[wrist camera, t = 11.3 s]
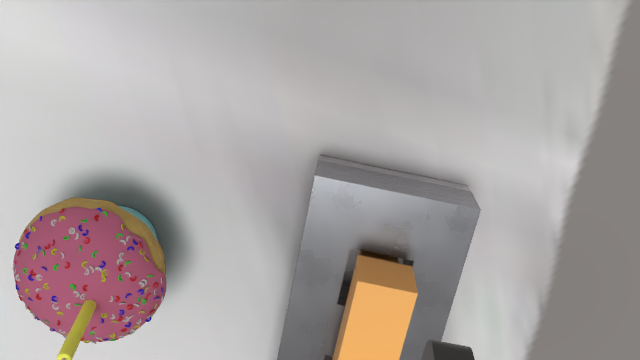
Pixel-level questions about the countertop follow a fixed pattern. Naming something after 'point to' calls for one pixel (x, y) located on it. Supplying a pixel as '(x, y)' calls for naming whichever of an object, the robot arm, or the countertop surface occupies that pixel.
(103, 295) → the cupcake
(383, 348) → the orange arch block
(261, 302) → the countertop surface
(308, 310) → the metal panel
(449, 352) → the robot arm
